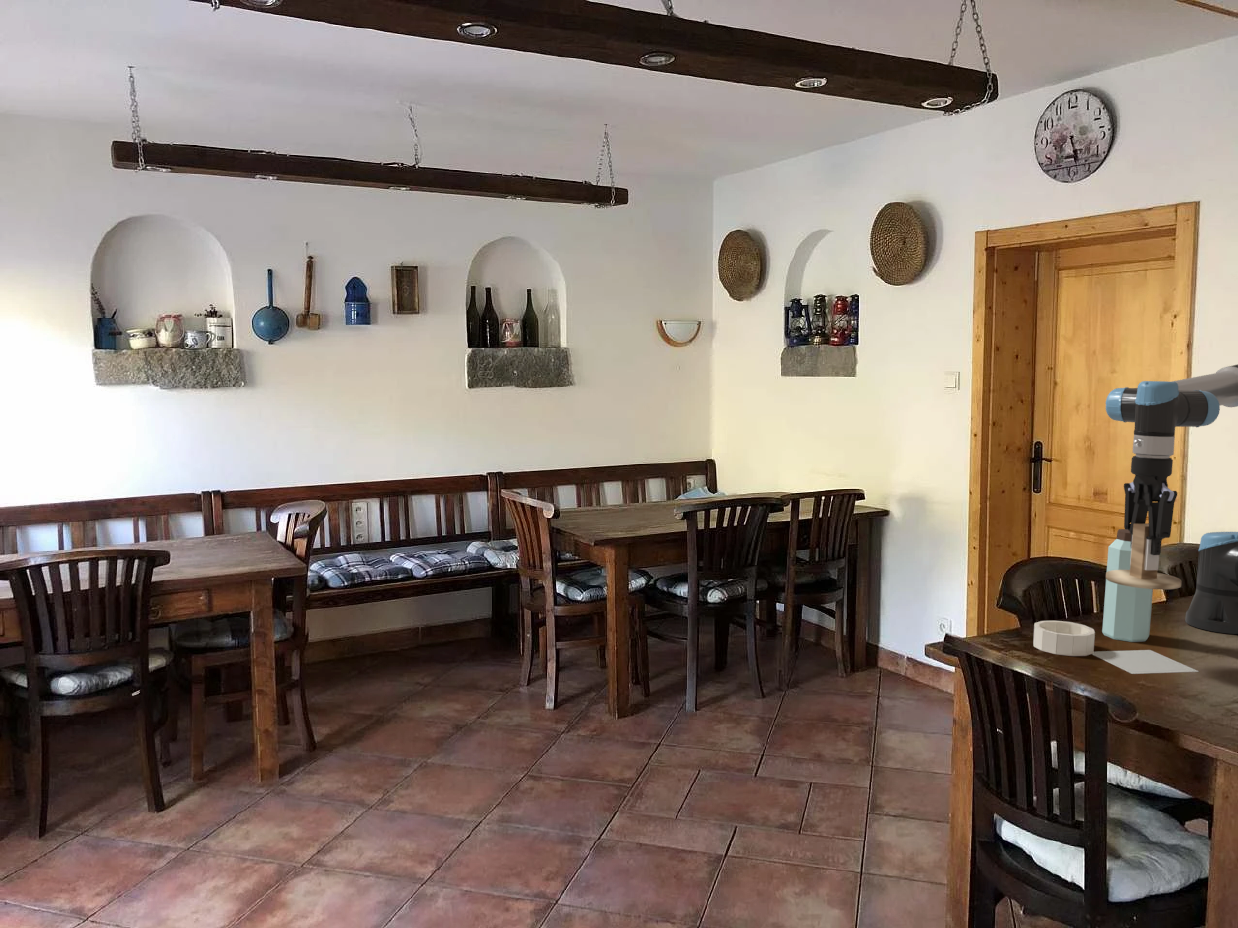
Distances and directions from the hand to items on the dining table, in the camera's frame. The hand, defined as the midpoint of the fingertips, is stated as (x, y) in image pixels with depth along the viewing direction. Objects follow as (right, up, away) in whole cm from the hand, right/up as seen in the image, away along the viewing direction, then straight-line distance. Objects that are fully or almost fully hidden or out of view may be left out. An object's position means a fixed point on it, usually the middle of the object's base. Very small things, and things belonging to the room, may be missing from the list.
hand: (1143, 567), depth 210 cm
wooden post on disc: (0, -3, 0) cm, 3 cm away
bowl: (-12, -19, +11) cm, 25 cm away
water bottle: (+7, -19, +21) cm, 29 cm away
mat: (0, -21, +2) cm, 21 cm away
